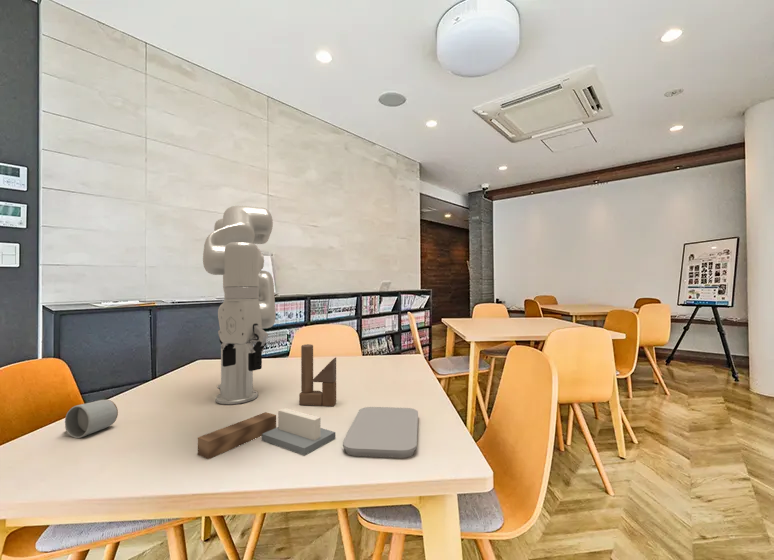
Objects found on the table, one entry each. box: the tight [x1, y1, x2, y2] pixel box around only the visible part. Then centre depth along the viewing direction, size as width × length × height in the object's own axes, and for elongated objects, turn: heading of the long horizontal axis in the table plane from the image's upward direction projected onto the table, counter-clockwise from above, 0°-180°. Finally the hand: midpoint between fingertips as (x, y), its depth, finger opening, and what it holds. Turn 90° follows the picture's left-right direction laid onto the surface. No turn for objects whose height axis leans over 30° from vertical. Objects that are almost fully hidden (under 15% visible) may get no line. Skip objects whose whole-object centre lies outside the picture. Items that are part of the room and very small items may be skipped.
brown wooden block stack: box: [298, 344, 337, 407], centre depth 110 cm, size 4×11×18 cm, turn 83°
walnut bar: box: [197, 411, 277, 460], centre depth 84 cm, size 18×4×4 cm, turn 148°
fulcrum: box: [261, 407, 336, 456], centre depth 85 cm, size 14×10×6 cm
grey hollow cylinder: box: [64, 399, 119, 439], centre depth 90 cm, size 11×8×8 cm
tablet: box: [342, 406, 419, 459], centre depth 88 cm, size 16×26×2 cm, turn 174°
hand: (241, 367), depth 84 cm, fingers open, 9 cm apart
